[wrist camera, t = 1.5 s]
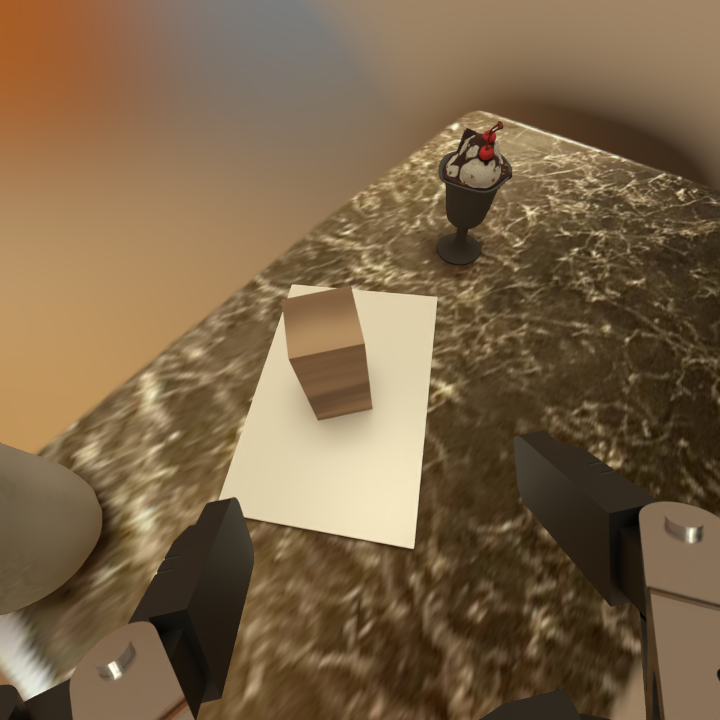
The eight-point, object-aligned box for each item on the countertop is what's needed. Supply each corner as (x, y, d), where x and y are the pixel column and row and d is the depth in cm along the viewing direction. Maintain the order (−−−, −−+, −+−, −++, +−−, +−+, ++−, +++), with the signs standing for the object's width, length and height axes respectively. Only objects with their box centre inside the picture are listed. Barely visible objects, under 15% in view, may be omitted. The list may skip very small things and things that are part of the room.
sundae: (474, 278, 41) (512, 142, 28) (420, 258, 43) (431, 122, 30) (497, 241, 44) (542, 100, 31) (445, 223, 46) (466, 84, 33)
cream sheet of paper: (293, 289, 42) (292, 284, 42) (436, 301, 40) (437, 297, 39) (218, 512, 31) (215, 511, 30) (413, 549, 29) (413, 548, 28)
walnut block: (372, 409, 34) (364, 343, 24) (317, 420, 33) (288, 358, 24) (361, 361, 36) (350, 285, 27) (310, 372, 36) (281, 299, 26)
